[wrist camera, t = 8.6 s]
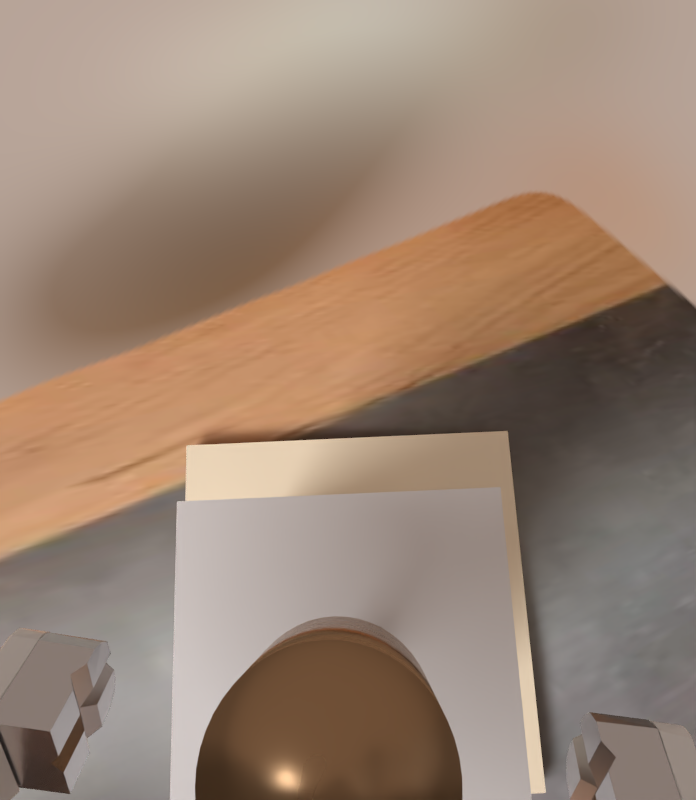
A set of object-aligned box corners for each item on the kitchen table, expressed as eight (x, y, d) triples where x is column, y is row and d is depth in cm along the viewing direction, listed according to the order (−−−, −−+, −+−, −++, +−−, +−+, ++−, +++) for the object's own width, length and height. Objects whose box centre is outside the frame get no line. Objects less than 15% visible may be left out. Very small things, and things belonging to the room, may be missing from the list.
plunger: (427, 533, 27) (557, 507, 9) (440, 707, 25) (628, 1096, 7) (268, 540, 27) (85, 527, 9) (270, 714, 25) (51, 1115, 7)
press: (503, 434, 35) (638, 326, 18) (538, 783, 31) (762, 1083, 14) (192, 448, 35) (30, 354, 18) (185, 797, 31) (-34, 1109, 14)
